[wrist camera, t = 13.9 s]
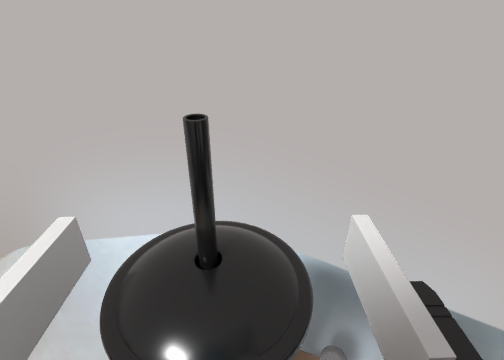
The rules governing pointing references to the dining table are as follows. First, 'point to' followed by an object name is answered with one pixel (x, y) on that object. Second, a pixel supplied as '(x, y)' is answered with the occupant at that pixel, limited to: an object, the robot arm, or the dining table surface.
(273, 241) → the drinking cup
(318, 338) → the dining table surface
